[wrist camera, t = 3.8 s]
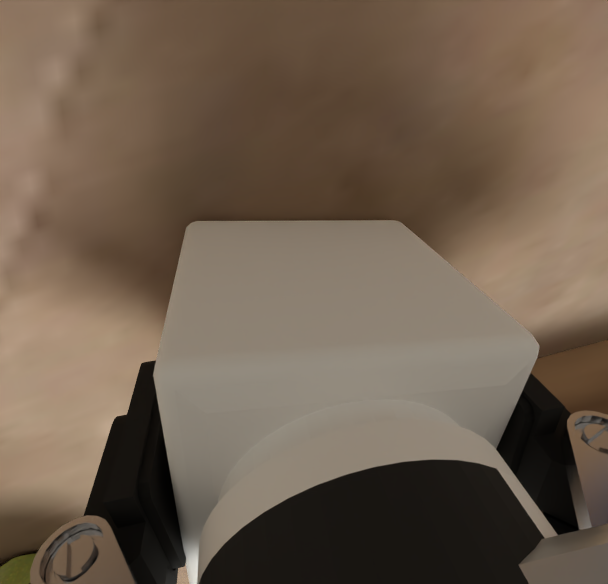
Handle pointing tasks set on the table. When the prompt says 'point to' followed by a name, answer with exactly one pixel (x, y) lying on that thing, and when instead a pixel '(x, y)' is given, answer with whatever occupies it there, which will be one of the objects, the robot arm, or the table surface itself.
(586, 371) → the walnut block
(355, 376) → the medicine bottle
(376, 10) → the table surface
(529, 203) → the table surface
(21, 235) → the table surface
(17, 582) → the plant pot
